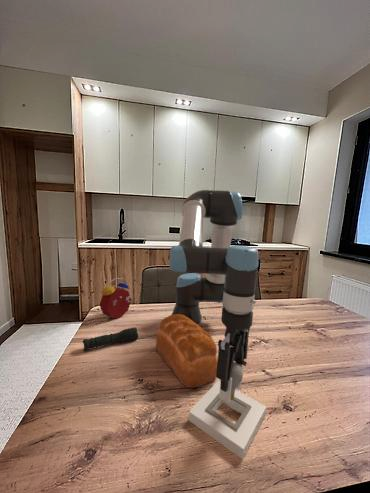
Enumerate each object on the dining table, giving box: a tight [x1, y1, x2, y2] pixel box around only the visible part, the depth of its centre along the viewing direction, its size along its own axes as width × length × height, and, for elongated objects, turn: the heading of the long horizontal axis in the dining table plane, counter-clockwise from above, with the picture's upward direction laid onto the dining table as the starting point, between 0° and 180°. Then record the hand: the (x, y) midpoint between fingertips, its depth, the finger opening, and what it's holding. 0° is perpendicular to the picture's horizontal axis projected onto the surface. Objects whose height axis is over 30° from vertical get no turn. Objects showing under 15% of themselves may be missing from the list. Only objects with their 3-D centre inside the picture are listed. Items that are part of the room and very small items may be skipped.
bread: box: [155, 314, 218, 389], centre depth 83 cm, size 14×26×16 cm, turn 30°
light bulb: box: [230, 363, 244, 400], centre depth 60 cm, size 6×6×10 cm
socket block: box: [188, 380, 267, 460], centre depth 62 cm, size 15×15×3 cm
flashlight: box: [82, 327, 139, 352], centre depth 93 cm, size 5×21×5 cm, turn 121°
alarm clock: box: [99, 277, 132, 320], centre depth 115 cm, size 15×9×20 cm, turn 144°
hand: (230, 392), depth 61 cm, fingers closed on light bulb, 5 cm apart
